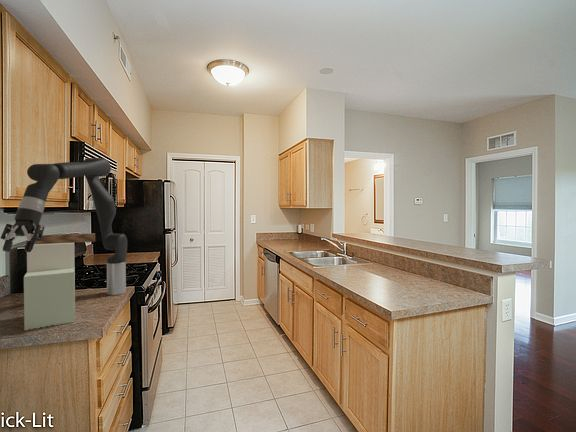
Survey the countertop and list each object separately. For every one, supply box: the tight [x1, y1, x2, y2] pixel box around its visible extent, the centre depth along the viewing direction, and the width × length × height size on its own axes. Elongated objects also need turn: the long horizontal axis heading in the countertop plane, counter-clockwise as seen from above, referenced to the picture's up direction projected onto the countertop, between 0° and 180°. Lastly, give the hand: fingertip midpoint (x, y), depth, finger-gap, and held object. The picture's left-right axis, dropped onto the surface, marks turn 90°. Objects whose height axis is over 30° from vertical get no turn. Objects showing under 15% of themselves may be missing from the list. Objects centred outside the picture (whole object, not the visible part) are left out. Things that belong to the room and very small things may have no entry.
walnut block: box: [34, 232, 96, 244], centre depth 136 cm, size 24×4×4 cm, turn 125°
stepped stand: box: [23, 243, 76, 331], centre depth 130 cm, size 20×16×32 cm
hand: (16, 251), depth 112 cm, fingers open, 8 cm apart
